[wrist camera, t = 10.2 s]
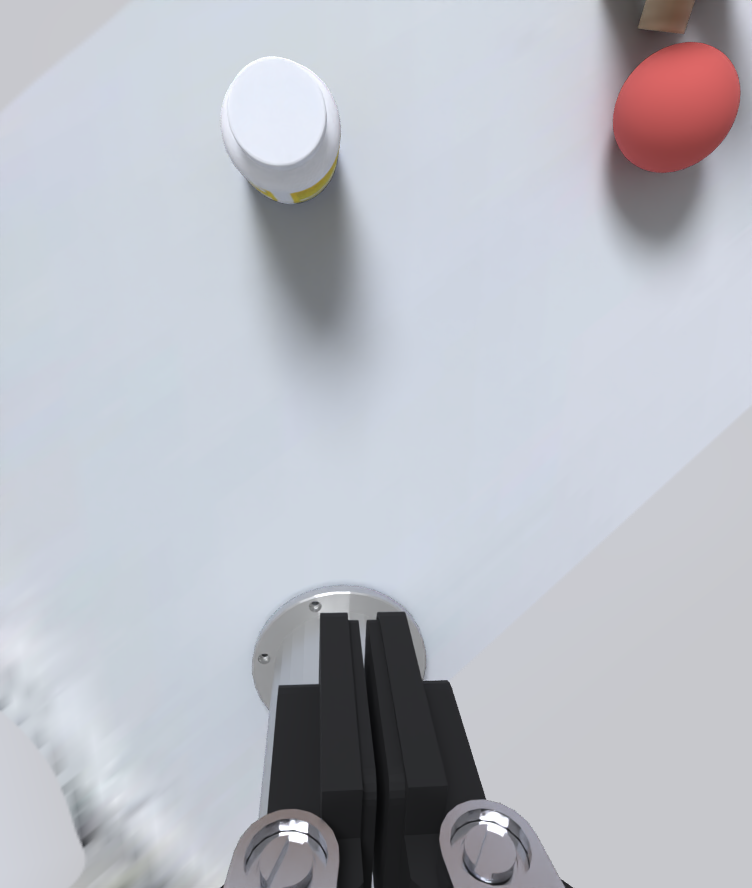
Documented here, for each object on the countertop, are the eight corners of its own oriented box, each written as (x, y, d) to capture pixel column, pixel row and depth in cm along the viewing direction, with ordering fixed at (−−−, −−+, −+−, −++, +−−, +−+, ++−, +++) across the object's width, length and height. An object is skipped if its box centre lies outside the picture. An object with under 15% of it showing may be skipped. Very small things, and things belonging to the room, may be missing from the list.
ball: (776, 45, 30) (690, 132, 35) (673, -8, 29) (602, 90, 35) (762, 135, 28) (674, 212, 34) (652, 81, 27) (581, 169, 33)
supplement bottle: (342, 106, 32) (352, 49, 23) (331, 211, 34) (337, 197, 25) (242, 89, 32) (211, 23, 22) (236, 196, 33) (205, 177, 24)
